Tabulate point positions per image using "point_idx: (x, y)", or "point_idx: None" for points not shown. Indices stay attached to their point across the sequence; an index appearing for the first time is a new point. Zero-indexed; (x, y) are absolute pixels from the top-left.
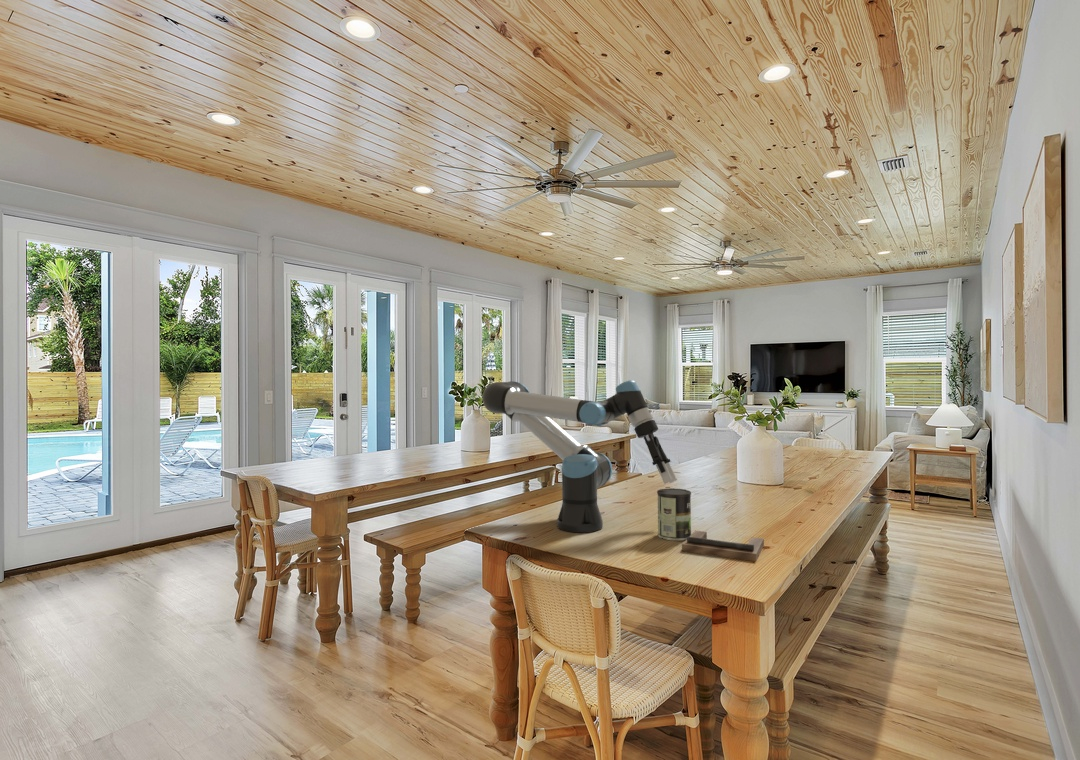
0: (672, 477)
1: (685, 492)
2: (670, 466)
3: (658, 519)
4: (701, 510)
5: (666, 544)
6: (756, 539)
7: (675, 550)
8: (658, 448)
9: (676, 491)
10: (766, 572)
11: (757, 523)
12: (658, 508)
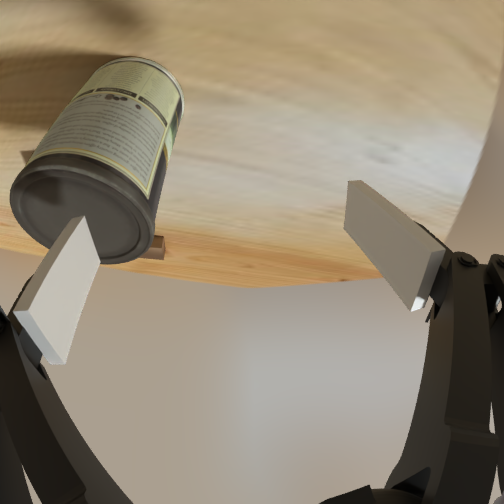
0: (357, 222)
1: (99, 252)
2: (391, 285)
3: (77, 94)
4: (461, 167)
5: (49, 110)
6: (150, 253)
7: (28, 141)
8: (402, 469)
9: (92, 229)
10: (47, 248)
11: (332, 244)
12: (55, 122)
